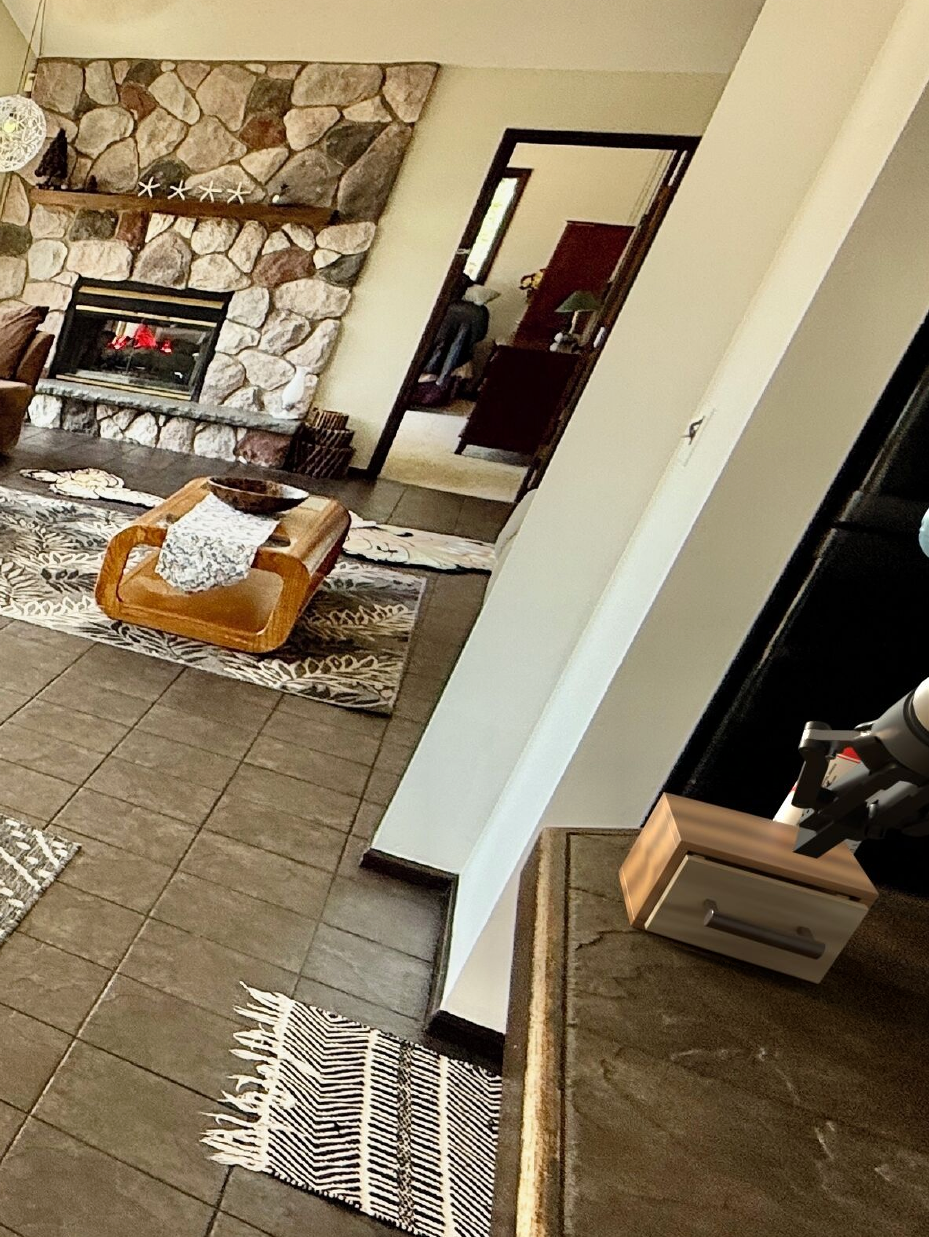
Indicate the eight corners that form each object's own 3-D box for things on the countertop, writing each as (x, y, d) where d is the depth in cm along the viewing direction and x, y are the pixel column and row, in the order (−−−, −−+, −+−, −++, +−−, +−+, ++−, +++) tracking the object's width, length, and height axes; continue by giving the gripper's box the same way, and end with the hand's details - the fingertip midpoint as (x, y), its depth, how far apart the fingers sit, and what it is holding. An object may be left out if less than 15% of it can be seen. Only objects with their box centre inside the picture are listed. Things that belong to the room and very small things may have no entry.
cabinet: (818, 984, 105) (879, 894, 102) (630, 926, 113) (680, 839, 109) (788, 922, 116) (843, 838, 112) (618, 872, 123) (663, 791, 119)
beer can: (835, 881, 125) (923, 747, 119) (825, 896, 122) (915, 758, 115) (753, 854, 130) (834, 723, 123) (741, 868, 126) (823, 734, 120)
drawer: (830, 1008, 100) (883, 932, 97) (650, 951, 107) (694, 878, 104) (790, 925, 114) (836, 855, 110) (632, 878, 120) (671, 812, 117)
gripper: (840, 731, 85) (692, 850, 104) (1124, 794, 78) (910, 910, 96) (865, 647, 87) (715, 779, 106) (1145, 701, 79) (931, 833, 98)
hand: (808, 842), depth 101 cm, fingers closed
